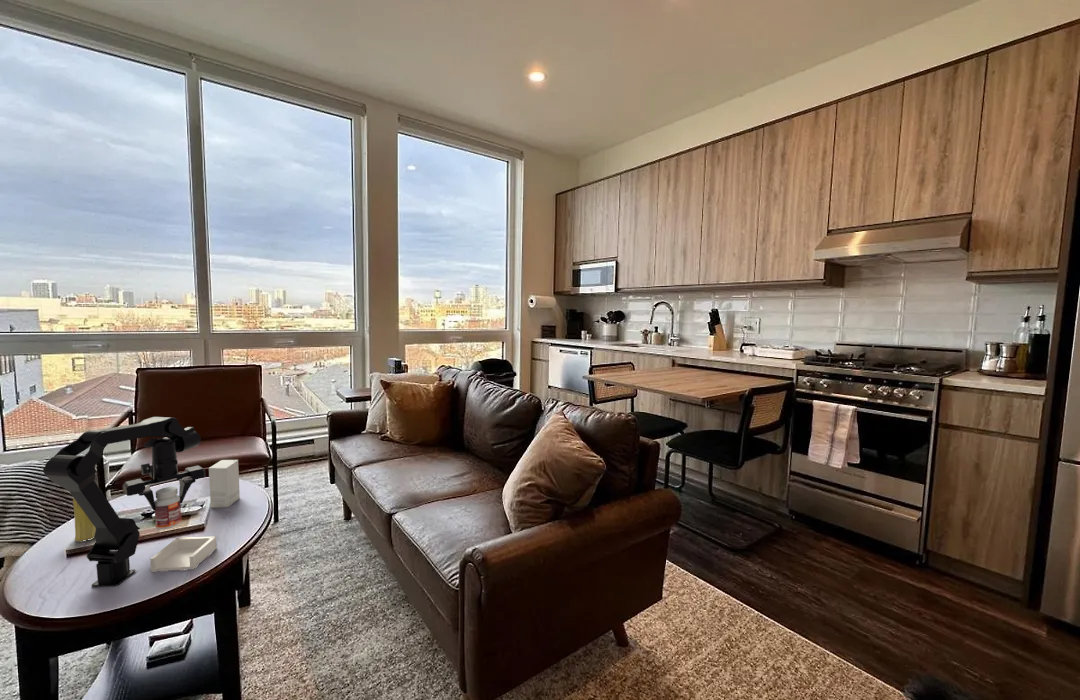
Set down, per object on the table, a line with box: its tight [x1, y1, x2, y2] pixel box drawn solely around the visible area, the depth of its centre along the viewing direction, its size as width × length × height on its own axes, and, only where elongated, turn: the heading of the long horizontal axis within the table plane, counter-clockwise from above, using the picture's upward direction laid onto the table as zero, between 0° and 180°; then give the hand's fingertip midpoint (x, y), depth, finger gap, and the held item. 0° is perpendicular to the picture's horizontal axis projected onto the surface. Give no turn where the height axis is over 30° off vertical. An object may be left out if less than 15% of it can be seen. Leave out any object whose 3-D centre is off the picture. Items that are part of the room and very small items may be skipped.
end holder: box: [149, 535, 218, 573], centre depth 130 cm, size 11×11×4 cm
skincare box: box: [208, 459, 241, 509], centre depth 166 cm, size 8×7×16 cm
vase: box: [72, 496, 96, 542], centre depth 140 cm, size 6×6×14 cm
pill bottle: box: [154, 486, 182, 530], centre depth 136 cm, size 6×6×11 cm
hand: (167, 506), depth 136 cm, fingers closed on pill bottle, 6 cm apart
